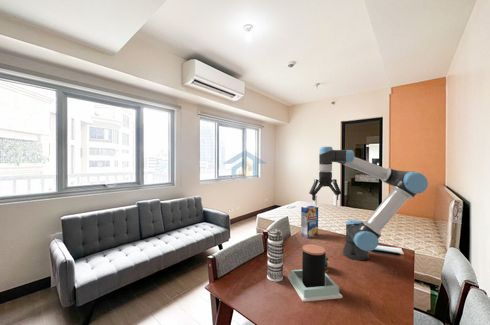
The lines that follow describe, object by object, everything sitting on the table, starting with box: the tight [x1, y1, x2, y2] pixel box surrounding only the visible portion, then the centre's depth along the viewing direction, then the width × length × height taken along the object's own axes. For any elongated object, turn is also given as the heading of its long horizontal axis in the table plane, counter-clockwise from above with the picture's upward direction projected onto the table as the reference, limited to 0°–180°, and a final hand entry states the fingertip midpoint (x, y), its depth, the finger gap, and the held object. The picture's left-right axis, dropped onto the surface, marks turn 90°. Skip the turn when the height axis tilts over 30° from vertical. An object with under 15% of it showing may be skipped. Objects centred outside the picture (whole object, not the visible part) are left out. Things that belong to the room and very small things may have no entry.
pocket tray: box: [287, 268, 343, 303], centre depth 101 cm, size 19×19×4 cm
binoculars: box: [324, 252, 329, 273], centre depth 119 cm, size 9×11×10 cm
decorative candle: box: [266, 228, 285, 282], centre depth 110 cm, size 9×9×25 cm
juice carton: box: [300, 205, 319, 239], centre depth 172 cm, size 12×8×24 cm, turn 117°
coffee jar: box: [301, 243, 326, 288], centre depth 102 cm, size 11×11×18 cm
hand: (325, 205), depth 128 cm, fingers open, 13 cm apart
